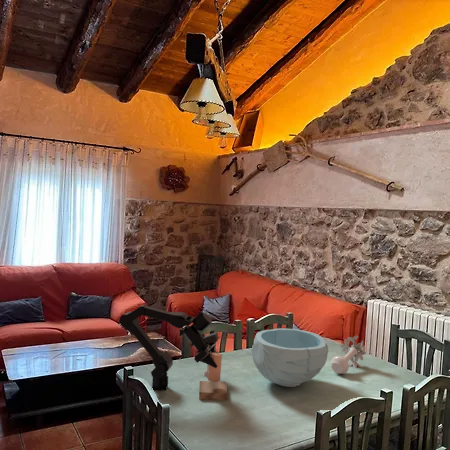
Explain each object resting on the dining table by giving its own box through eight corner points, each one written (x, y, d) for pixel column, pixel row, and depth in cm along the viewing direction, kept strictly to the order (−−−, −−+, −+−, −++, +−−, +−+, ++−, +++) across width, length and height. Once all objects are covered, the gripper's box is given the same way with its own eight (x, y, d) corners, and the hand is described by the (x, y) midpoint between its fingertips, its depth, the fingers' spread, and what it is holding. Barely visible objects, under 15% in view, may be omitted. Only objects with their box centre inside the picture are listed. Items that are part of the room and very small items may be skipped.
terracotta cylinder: (210, 382, 187) (211, 357, 186) (206, 377, 192) (207, 352, 191) (222, 381, 189) (223, 356, 188) (217, 376, 194) (219, 352, 193)
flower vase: (345, 389, 219) (367, 365, 236) (349, 359, 212) (371, 337, 230) (322, 377, 227) (345, 355, 245) (326, 348, 221) (348, 327, 238)
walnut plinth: (199, 399, 185) (199, 392, 185) (199, 387, 197) (199, 381, 197) (226, 399, 186) (227, 392, 186) (225, 388, 198) (225, 381, 198)
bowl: (300, 367, 229) (302, 326, 228) (340, 395, 196) (343, 347, 195) (239, 373, 216) (241, 330, 215) (271, 404, 183) (274, 353, 183)
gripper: (203, 331, 181) (227, 361, 179) (213, 320, 199) (235, 347, 198) (184, 347, 183) (208, 377, 181) (195, 335, 201) (217, 362, 199)
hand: (218, 364), depth 190 cm, fingers closed on terracotta cylinder, 5 cm apart
